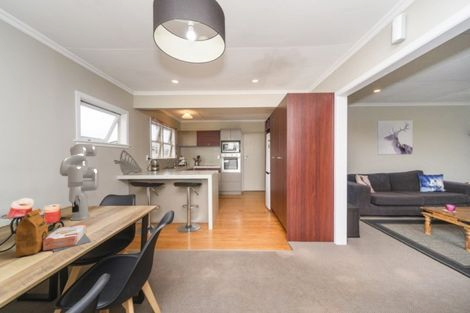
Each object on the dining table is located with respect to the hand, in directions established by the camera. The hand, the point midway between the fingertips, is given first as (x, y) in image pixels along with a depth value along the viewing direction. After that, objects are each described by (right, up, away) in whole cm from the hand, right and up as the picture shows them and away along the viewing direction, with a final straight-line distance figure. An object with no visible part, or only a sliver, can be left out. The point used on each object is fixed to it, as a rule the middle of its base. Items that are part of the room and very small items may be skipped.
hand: (75, 212), depth 119 cm
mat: (+7, -15, -11) cm, 19 cm away
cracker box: (-1, -11, 0) cm, 11 cm away
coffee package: (-4, -15, -21) cm, 26 cm away
